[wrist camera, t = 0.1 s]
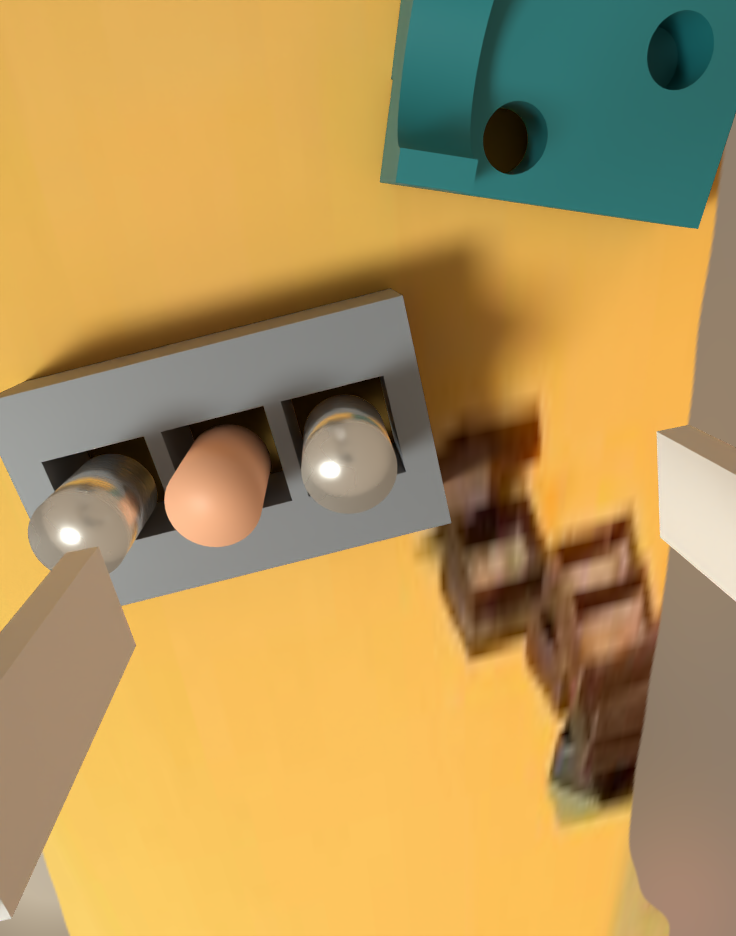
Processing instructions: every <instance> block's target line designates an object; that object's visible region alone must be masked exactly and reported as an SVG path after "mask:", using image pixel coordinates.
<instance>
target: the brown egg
mask: <svg viewBox="0 0 736 936" xmlns="http://www.w3.org/2000/svg"><path fill="white" fill-rule="evenodd" d="M270 469H271V460H270V455H269V452H268V449H267V447H266V445H265V444H264V442H263V441H262V440H261V439H260V438H259V436H257V435H256V434H255V433H254V432H252V431H251V430H249V429H247V428H245V427H242V426H238V425H233V424H223V425H217V426H214V427H211V428H209V429H207V430H206V431H204V432H203V433H202V434H200V435H199V436H198V437H197V439H196V440H195V441H194V443H193V444H192V446H191V448H190V449H189V451H188V452H187V454H186V456H185V457H184V459H183V460H182V462H181V464H180V465H179V467H178V468H177V470H176V472H175V473H174V475H173V476H172V478H171V480H170V481H169V483H168V485H167V488H166V492H165V498H164V500H165V510H166V513H167V516H168V518H169V520H170V522H171V524H172V525H173V527H174V528H175V529H176V530H177V531H178V532H179V533H180V534H181V535H182V536H184V537H185V538H186V539H188V540H190V541H192V542H194V543H196V544H199V545H203V546H208V547H224V546H229V545H232V544H235V543H237V542H239V541H241V540H243V539H244V538H246V537H247V536H248V535H249V534H250V533H251V532H252V531H253V530H254V528H255V527H256V526H257V524H258V522H259V519H260V516H261V512H262V508H263V503H264V498H265V493H266V489H267V484H268V479H269V474H270Z"/></svg>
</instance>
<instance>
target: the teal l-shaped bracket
mask: <svg viewBox="0 0 736 936" xmlns="http://www.w3.org/2000/svg"><path fill="white" fill-rule="evenodd" d="M391 79H392V80H393V83H392V91H391V98H390V106H389V114H388V122H387V129H386V137H385V145H384V153H383V160H382V168H381V176H380V182H381V183H388V184H395V185H401V186H408V187H415V188H422V189H428V190H435V191H442V192H449V193H455V194H462V195H469V196H476V197H482V198H489V199H496V200H503V201H509V202H516V203H523V204H530V205H536V206H543V207H550V208H557V209H563V210H570V211H577V212H584V213H590V214H597V215H604V216H611V217H617V218H624V219H631V220H638V221H644V222H651V223H658V224H665V225H672V226H680V227H688V228H696V229H698V227H699V224H700V221H701V218H702V215H703V212H704V209H705V206H706V203H707V200H708V196H709V193H710V190H711V187H712V184H713V181H714V178H715V175H716V172H717V169H718V166H719V163H720V160H721V157H722V153H723V150H724V147H725V144H726V141H727V138H728V135H729V132H730V129H731V126H732V123H733V119H734V117H735V114H736V0H401V5H400V12H399V20H398V28H397V36H396V44H395V52H394V60H393V68H392V76H391ZM498 108H504V109H509V110H511V111H513V112H515V113H516V114H517V115H518V116H519V117H520V118H521V119H522V120H523V122H524V124H525V126H526V129H527V135H528V143H527V149H526V152H525V154H524V157H523V158H522V160H521V161H520V163H519V164H518V165H517V166H516V167H515V168H514V169H513V170H511V171H510V172H508V173H505V174H504V173H502V172H500V171H498V170H496V169H495V168H494V167H493V166H492V165H491V164H490V163H489V161H488V159H487V157H486V155H485V152H484V147H483V135H484V130H485V127H486V124H487V122H488V120H489V119H490V117H491V116H492V114H493V113H494V112H495V111H496V110H497V109H498Z"/></svg>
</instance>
